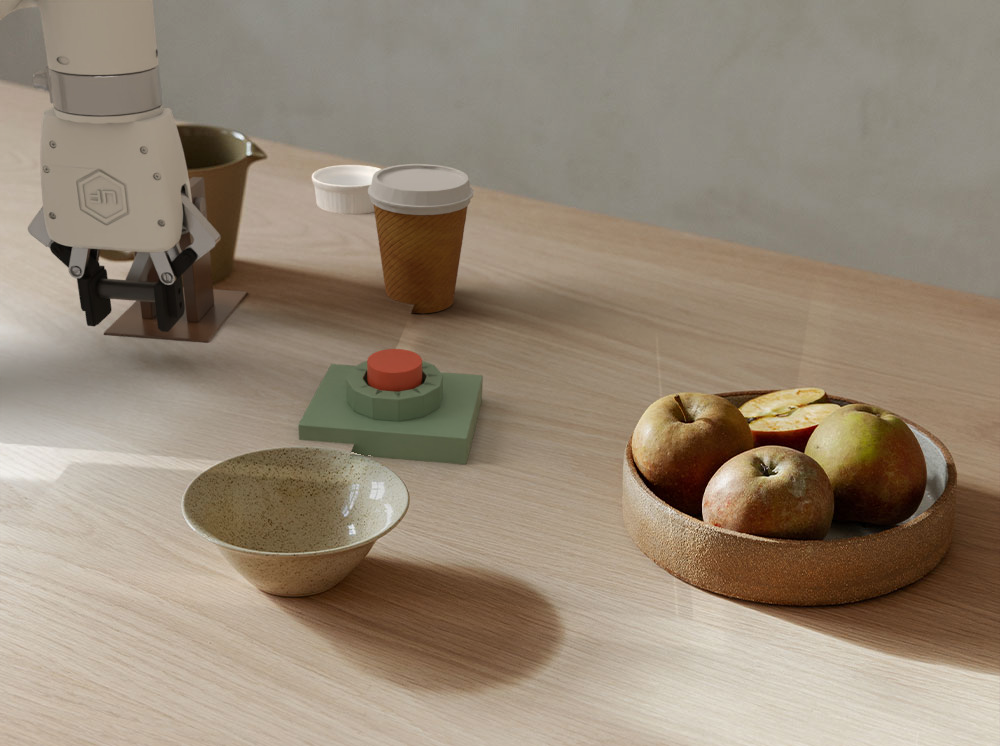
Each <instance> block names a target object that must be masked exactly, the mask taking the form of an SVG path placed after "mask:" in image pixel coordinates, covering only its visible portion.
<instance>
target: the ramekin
mask: <svg viewBox="0 0 1000 746" xmlns="http://www.w3.org/2000/svg"><path fill="white" fill-rule="evenodd" d="M381 169H382V168H379V167H376V166H371V165H362V164H341V165H340V164H339V165H332V166H327V167H322V168H319V169H316V170H315V171H314V172H312V174H311V181H312V184H313V188H314V195H315V202H316V206H317V207H318V208H319V209H321V210H323V211H325V212H329V213H334V214H340V215H364V214H369V213H371V214H372V213H375V212H374V204H373V203H372V201H371V197H370V196H369V194H368V188H369V186H370V185H371V183H372V178H373V175H374V174H375V173H376V172H377V171H379V170H381Z"/></svg>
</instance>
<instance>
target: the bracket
mask: <svg viewBox="0 0 1000 746" xmlns="http://www.w3.org/2000/svg"><path fill="white" fill-rule="evenodd" d="M189 183H190V189H191V196H192V203H193V204H194V205H195V206H196V208H197V209H198V210H199V211H200V212H201V213H202V215H203V216H204V217H205V218H206V219H207V220H208V212H207V211H208V210H207V199H206V188H205V187H206V186H205V178H204V177H202V176H199V177H198V176H192V177H191V178H189ZM193 241H194V238H193V236H192V235H191V233H190V232H188V233H186V234H183V235H181V237H180V240H179V242H178V243H179V246H180V248H181V251H183V250H184V249H185V248H186V247H187V246H188V245H190V244H191V243H192V242H193ZM136 254H137V252H134V251H133V255H134V258H135V257H136ZM145 281H146V282H158V281H159V276H158V273H157V271H156V268H155V266H154V264H153V263H152V266H151V268H150V270H149V273H148V275H147V278H146V280H145ZM213 283H214V282H213V270H212V259H211V250H210V251H208V252H207V253H206V254H205V255H203V256H202V257H201V258H199V259H198V260H197V261H195V262H194V263H193V264H192V265H191V266H190V267H189V268H188V269H187V270H186V271H185V272H184V273H183V274H182V284H183V295H184V305H185V311H184V314H183V316H182V317H181V318H180V319H179V320H178V322H177V323H176V324H175V325H174V326H173V327H172V328H171V329H170V330H169V332H162V331H160V330H159V329H158V323H157V314H156V305H155V302H147V301H134V302H133V303H132V304H131V305H130V306H129V307H128V308H127V309H126V310H125V311H124V312H123V313H122V314H121V315H120V316H119V317H118V318H117V319H116V320H115V321H114V322H113V323H111V325H110V326H109V327H108V328H107V329H106V330H104V331H103V336H111V337H125V338H138V339H153V340H163V341H176V342H177V341H178V342H190V343H203V344H204V343H205V344H208V343H210V341H212V339H213V338H214V337H215V335H216V334H217V332H218V331H219V330H220V329H221V327H222V326H223V325H224V324H225V323H226V321H227V320H228V319H229V318H230V317H231V316H232V315H233V313H234V311H236V309H237V308H238V307H239V305H240V304H241V303H242V301H243V300H244V299H245V298H246V296H247V295H248V291H243V290H229V289H228V290H227V289H216V288H214V284H213Z"/></svg>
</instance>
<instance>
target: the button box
mask: <svg viewBox="0 0 1000 746" xmlns="http://www.w3.org/2000/svg"><path fill="white" fill-rule="evenodd" d="M483 380H484V376H483V375H480V374H469V373H456V372H443V371H440V370H439V369H438V367H437V366H436V365H435V364H432V363H429V362H427V361H424V360H422V383H421V385H420V386H418V387H416V388H414V389H411V390H405V391H399V392H396V391H383V390H378V389H375V388H373V387H370V386H369V384H368V381H367V360H365V361H363V362H361V363H359V364H357V365H351V364H340V363H339V364H338V363H331V364H330V365H329V367H328V369H327V371H326V373H325V375H324V377H323V378H322V379H321V382H320V384H319V386H318V388H317V389H316V391H315V393H314V395H313V397H312V398H311V400H310V402H309V404H308V406H307V408H306V410H305V411H304V414H303V415H302V417H301V418H300V421H299V423H298V424H297V425H298V427H297V428H298V440H300V441H311V442H323V443H335V444H347V445H348V444H349V445H353V446H352V448H351V451H350V453H351V452H354V453H357V454H361V455H364V456H363V457H370V456H368V455H371V456H373V457H372V458H381V459H382V458H383V459H395V460H408V461H421V462H431V463H432V462H433V463H442V464H443V463H444V464H455V465H456V464H457V465H467V464H468V460H469V455H470V452H471V447H472V442H473V438H474V435H475V429H476V427H477V422H478V417H479V414H480V409H481V406H482V402H483V384H484V383H483V382H484V381H483ZM370 458H371V457H370Z"/></svg>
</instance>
